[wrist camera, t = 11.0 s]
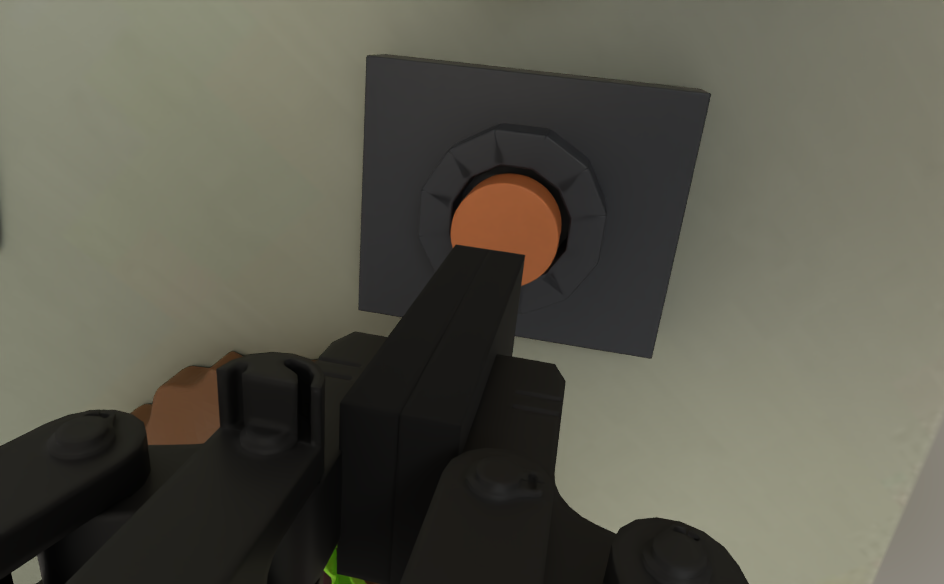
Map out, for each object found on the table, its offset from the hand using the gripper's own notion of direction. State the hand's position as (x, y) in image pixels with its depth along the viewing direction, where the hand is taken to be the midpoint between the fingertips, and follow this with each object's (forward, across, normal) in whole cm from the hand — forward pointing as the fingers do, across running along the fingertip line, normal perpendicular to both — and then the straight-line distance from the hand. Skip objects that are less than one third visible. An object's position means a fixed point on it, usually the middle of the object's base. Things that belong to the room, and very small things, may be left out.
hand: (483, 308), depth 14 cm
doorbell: (+13, -1, -1) cm, 13 cm away
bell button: (+9, -1, -1) cm, 9 cm away
